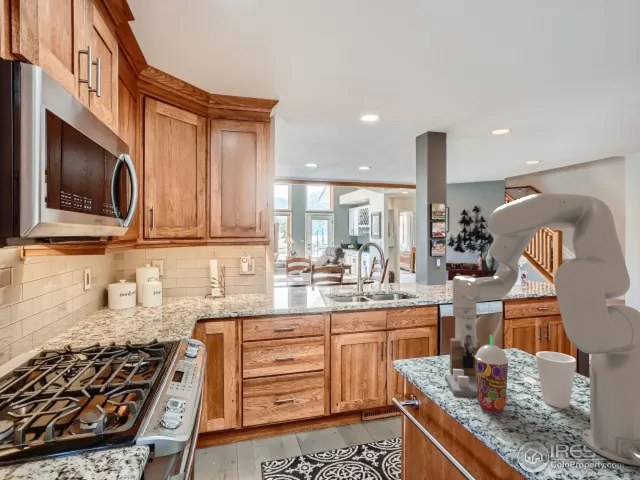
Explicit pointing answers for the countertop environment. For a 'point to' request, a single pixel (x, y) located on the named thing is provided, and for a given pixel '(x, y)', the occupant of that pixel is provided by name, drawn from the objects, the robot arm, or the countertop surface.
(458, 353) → the door
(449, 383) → the hinge base
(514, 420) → the countertop surface
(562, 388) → the foam cup
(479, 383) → the smoothie
